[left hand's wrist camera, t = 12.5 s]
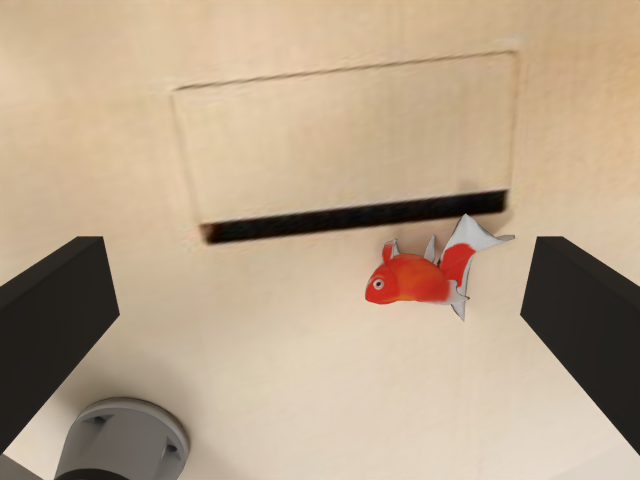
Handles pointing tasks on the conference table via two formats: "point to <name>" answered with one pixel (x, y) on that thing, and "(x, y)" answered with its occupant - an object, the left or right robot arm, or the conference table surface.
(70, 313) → the left robot arm
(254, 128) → the conference table surface
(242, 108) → the conference table surface
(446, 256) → the fish
